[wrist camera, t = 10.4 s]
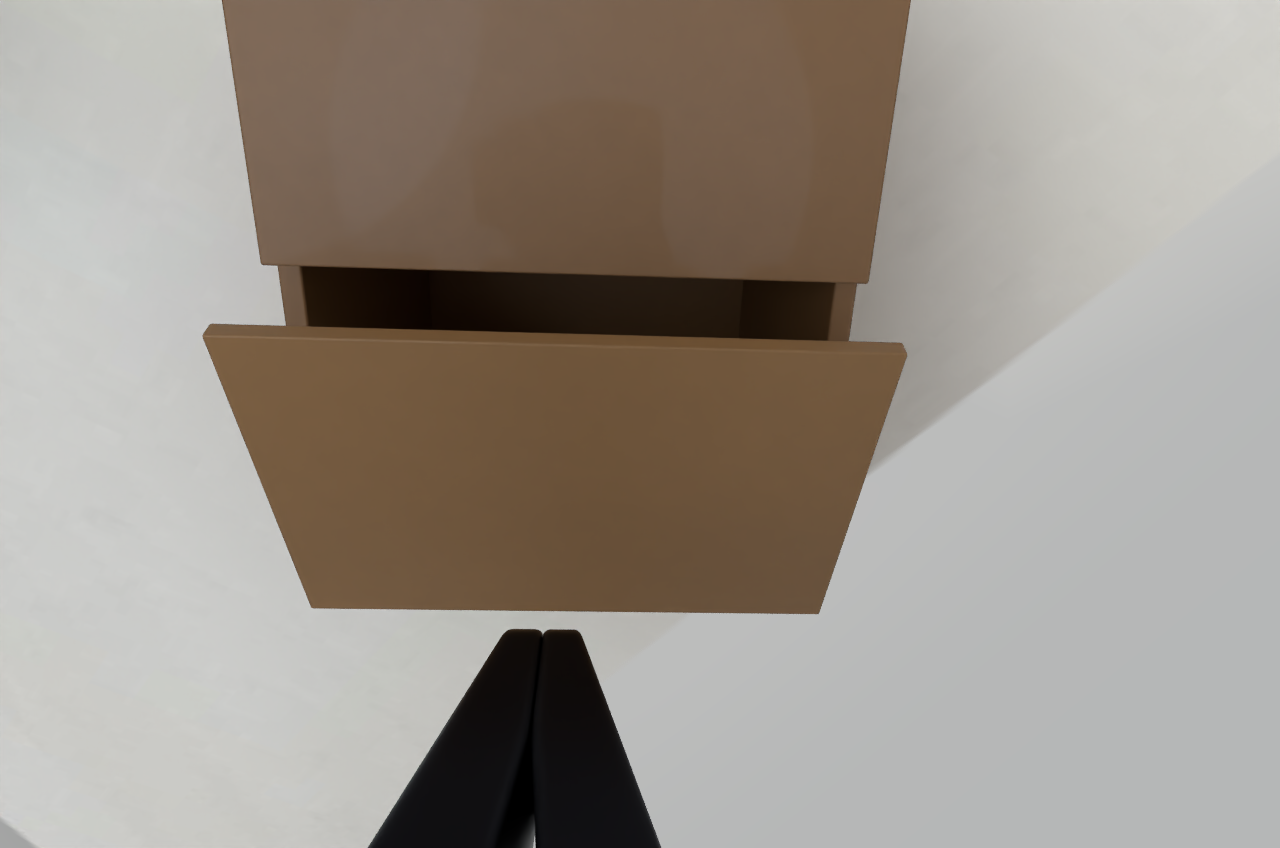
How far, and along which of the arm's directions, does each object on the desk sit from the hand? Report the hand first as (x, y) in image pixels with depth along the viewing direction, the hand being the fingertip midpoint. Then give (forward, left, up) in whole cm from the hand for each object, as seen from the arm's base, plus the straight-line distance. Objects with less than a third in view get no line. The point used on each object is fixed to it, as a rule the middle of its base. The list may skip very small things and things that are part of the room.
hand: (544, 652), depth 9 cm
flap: (0, 0, -4) cm, 4 cm away
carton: (+2, -2, -15) cm, 16 cm away
